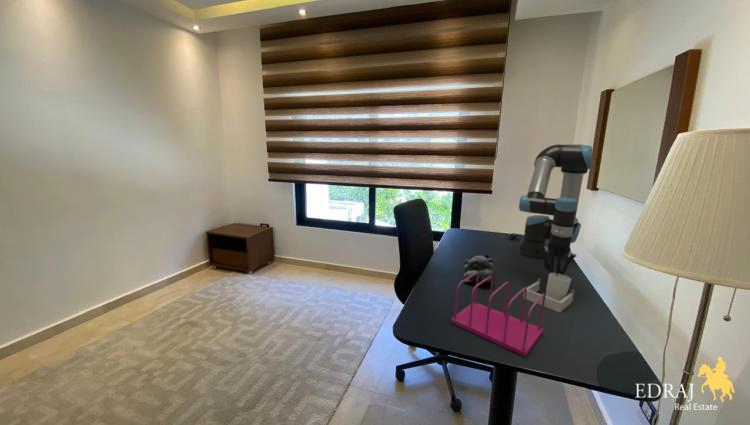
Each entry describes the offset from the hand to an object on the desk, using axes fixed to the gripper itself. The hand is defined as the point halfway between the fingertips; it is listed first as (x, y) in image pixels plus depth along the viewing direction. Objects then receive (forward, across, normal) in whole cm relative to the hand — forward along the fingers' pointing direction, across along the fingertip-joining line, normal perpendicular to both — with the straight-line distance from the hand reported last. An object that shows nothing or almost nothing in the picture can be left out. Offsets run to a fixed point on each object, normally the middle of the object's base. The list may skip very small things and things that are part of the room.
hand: (552, 287), depth 128 cm
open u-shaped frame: (+3, +2, -8) cm, 9 cm away
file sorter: (+3, -1, -44) cm, 44 cm away
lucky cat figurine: (+3, -26, -16) cm, 31 cm away
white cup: (+3, +3, -5) cm, 7 cm away
